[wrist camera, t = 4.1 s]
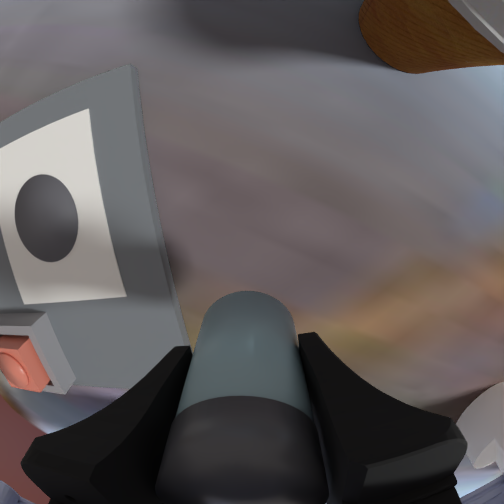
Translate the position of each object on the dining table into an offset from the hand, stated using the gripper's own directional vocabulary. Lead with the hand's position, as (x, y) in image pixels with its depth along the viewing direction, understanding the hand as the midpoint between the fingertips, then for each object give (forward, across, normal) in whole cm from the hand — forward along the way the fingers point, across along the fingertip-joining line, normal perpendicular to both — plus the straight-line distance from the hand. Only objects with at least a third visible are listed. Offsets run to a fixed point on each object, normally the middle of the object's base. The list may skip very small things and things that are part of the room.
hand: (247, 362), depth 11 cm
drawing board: (+9, +14, -3) cm, 17 cm away
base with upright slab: (+9, -25, +22) cm, 34 cm away
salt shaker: (+2, 0, 0) cm, 2 cm away
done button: (+6, +19, +4) cm, 20 cm away
